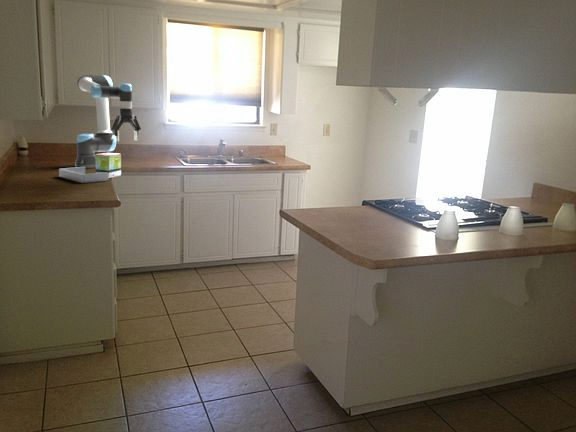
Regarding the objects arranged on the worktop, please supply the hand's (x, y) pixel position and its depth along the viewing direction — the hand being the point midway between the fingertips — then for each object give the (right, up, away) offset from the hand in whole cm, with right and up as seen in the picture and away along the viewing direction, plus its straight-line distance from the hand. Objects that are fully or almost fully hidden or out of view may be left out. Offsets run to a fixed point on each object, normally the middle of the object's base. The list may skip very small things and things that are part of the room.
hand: (126, 140), depth 347 cm
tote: (-21, -26, -19) cm, 39 cm away
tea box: (-10, -24, -6) cm, 27 cm away
